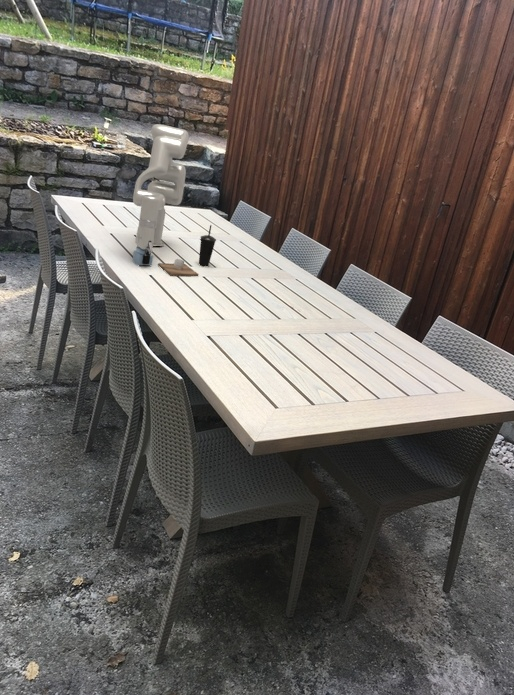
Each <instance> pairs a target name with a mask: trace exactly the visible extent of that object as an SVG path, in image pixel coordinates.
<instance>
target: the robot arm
mask: <svg viewBox="0 0 514 695" xmlns="http://www.w3.org/2000/svg"><path fill="white" fill-rule="evenodd" d="M150 132H151V137H152V141H153V142H152V148H151V154H150V160H149V163H148V167H147V168H146V169H145V170H144V171H143V172H141V174H140V175H139V176H138V177H137V179H136V181H135V186H134V191H133V195H132V202H133V204H134V205H135V206H137V207H140V213H139V220H138V227H137V231H136V235H135V241H134V242H135V244H136V246H137V247H140V248H141V249H143V250H144V255H143V261H142V264H149V261H150V256H151V254H152V253H153V251H154V247H153V246H162V247H164V246H163V245H165V243H164V241H162V239H163V238H162V237H163V232H164V226H165V219H166V218H165V217H166V209H165V206H166V204H169V205H172V206H179V205H181V203H182V200H183V195H184V188H185V181H186V175H187V174H186V172H187V171H186V166H185V165H184V164H182V163H179V162H173V159H178V160H181V159H183V158H184V156H185V154H186V151H187V148H188V143H189V131H187V130H186V129H184V128H178V127H174V126H169V125H165V124H160V123H159V124H157V123H156V124H153V125H152V127H151V130H150ZM152 178H155V179H157V180H160V181H151V182H149V183H148V185H147V190H145V189H142V186H143V184H144V183H145V182H146V181H147V180H150V179H152ZM162 181H163V182H162ZM167 182H168V183H167ZM171 183H173V184H171ZM137 247H136V248H137ZM146 248H149V249H146ZM146 250H148V251H147V252H146Z"/></svg>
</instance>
